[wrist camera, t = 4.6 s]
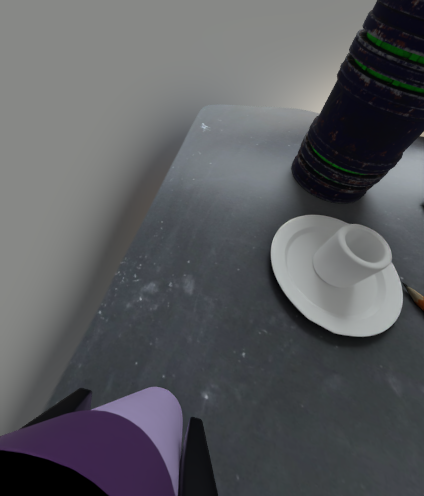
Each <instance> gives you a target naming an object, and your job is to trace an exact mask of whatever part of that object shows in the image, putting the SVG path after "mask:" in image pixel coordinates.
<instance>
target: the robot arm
mask: <svg viewBox="0 0 424 496" xmlns="http://www.w3.org/2000/svg"><path fill="white" fill-rule="evenodd" d="M91 398H92V391H91V390H88V389H84V388H80V389H78V390H76V391H75V392H73V393H72V394H70V395H69V396H67V397H66V398H64V399H63V400H61V401H60V402H59V403H57V404H56V405H54V406H53V407H51V408H50V409H48V410H47V411H45V412H44V413H42V414H41V415H39V416H38V417H36V418H35V419H33V420H32V421H31V422H29V423H28V424H26V425H25V426H23V427H22V428H20V429H23V428H26V427H29V426H32V425H35V424H38V423H40V422H43V421H46V420H49V419H52V418H55V417H58V416H61V415H64V414H67V413H72V412H77V411H85V410H90V407H91ZM20 429H19V430H20ZM178 496H218V493H217V488H216V483H215V479H214V474H213V469H212V465H211V460H210V455H209V451H208V446H207V441H206V436H205V432H204V427H203V423H202V420H201V419H199V418H195V417H191V418H190V420H189V423H188V427H187V431H186V435H185V439H184V444H183V449H182V454H181V459H180V470H179V487H178Z"/></svg>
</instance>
